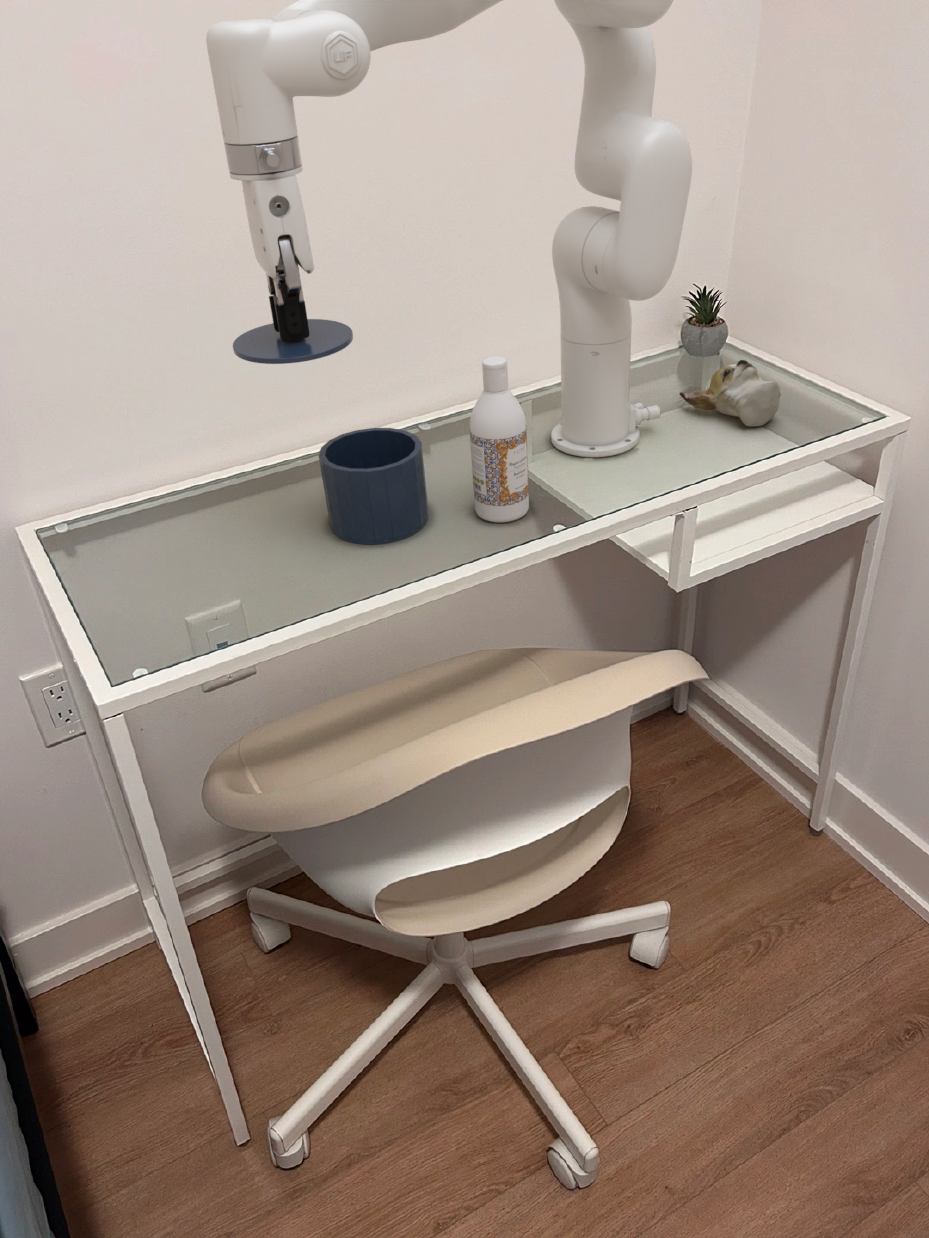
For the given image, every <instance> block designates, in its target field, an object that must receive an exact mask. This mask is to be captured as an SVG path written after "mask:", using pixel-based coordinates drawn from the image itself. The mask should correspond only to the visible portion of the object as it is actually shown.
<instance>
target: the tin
mask: <svg viewBox="0 0 929 1238" xmlns="http://www.w3.org/2000/svg"><path fill="white" fill-rule="evenodd" d="M423 452H424V451H423V442H422V440H421V439H420V438H419V437H418V436H417V435H416V434H414V433H412V432H411V431H408V430H404V429H399V428H394V427H370V428H363V429H356V430H352V431H349V432H345V433H342V434H339V435H338V436H335V437H333V438H331V439H329V440H328V441H327V442H326V443H325V444H324V445H322V446H321V447H320V449H319V453H318V461H319V466H320V473H321V479H322V485H323V486H322V487H323V491H324V497H325V504H326V509H327V516H328V522H329V525H330V529H331V531H332V533H333V534H334V535H335V536H336V537H338V538H339V539H341V540H343V541H345V542H348V543H352V544H357V545H369V546H373V545H374V546H375V545H384V544H389V543H395V542H399V541H402V540H404V539H407V538H409V537H411V536H413V535H415V534H417V533H419V531H421V530H422V529H423V528H424V527H425V526H426V524H427V523H428V520H429V504H428V492H427V482H426V481H427V480H426V473H425V462H424V461H425V460H424V454H423Z"/></svg>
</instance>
